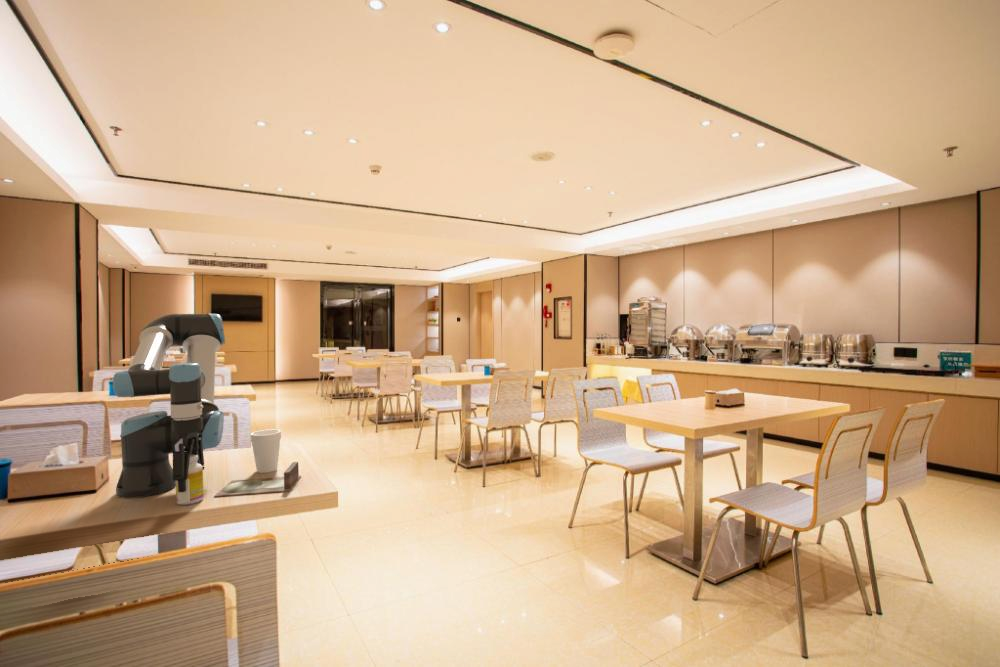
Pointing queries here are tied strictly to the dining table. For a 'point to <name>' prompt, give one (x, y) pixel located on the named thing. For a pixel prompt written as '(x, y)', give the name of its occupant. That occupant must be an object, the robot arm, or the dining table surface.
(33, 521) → the dining table surface
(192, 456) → the supplement bottle
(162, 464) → the robot arm
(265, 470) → the foam cup
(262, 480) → the keyhole board
